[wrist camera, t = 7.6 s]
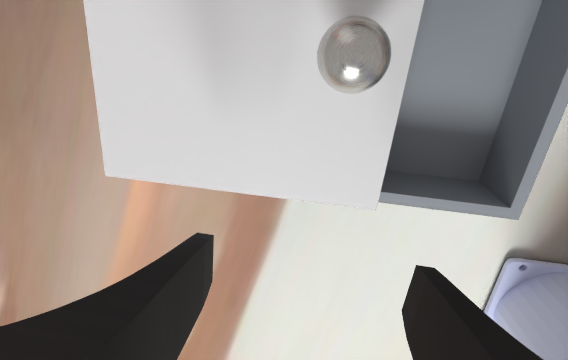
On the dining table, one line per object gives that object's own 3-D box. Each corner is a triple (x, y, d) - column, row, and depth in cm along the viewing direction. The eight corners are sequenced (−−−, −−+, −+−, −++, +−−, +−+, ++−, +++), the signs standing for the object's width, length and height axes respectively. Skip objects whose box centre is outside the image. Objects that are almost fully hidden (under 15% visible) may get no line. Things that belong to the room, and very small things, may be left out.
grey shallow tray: (579, -86, 15) (665, -130, 11) (481, 188, 20) (518, 219, 17) (281, -109, 16) (270, -157, 12) (261, 161, 21) (250, 186, 17)
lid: (455, -153, 12) (530, -262, 8) (374, 206, 17) (392, 255, 13) (69, -180, 12) (-52, -291, 8) (110, 172, 18) (49, 209, 14)
